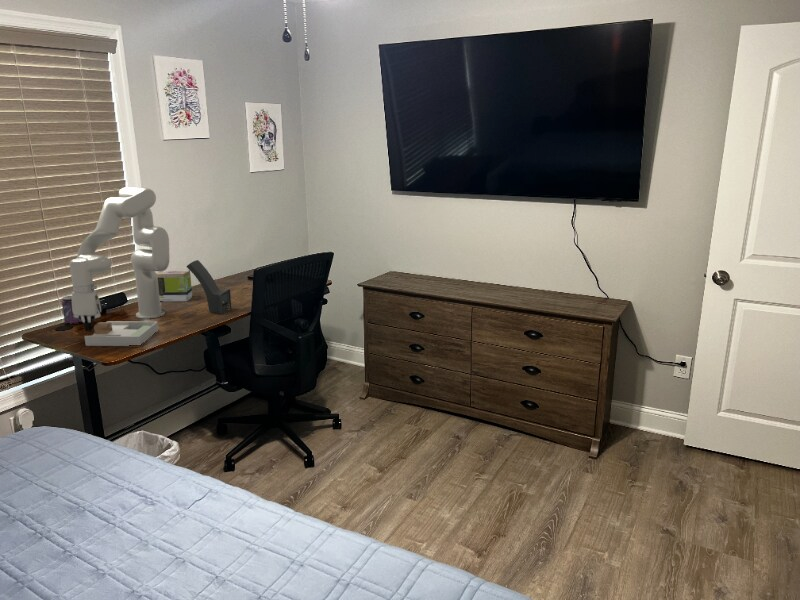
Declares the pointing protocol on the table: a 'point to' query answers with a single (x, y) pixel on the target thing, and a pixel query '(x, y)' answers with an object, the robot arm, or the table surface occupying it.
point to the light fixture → (211, 289)
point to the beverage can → (69, 310)
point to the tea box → (174, 285)
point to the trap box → (124, 334)
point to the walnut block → (103, 328)
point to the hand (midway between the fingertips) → (89, 330)
